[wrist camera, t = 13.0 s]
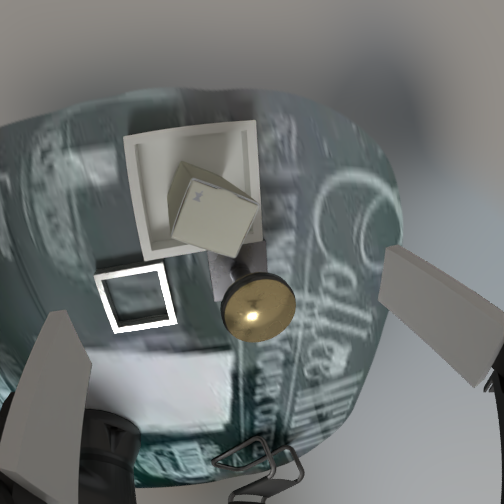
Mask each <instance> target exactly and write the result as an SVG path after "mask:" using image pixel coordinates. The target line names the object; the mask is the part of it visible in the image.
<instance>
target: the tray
mask: <svg viewBox="0 0 504 504" xmlns="http://www.w3.org/2000/svg"><path fill="white" fill-rule="evenodd" d="M123 140H124V149H125V157H126V164H127V172H128V178H129V185H130V191H131V197H132V203H133V208H134V214H135V219H136V224H137V229H138V234H139V239H140V244H141V248H142V253H143V257H144V261H149V260H154V259H160V258H166V257H172V256H177V255H183V254H189V253H195V252H201V251H206V250H205V249H201V248H198V247H195V246H193V245H189V244H186V243H183V242H181V241H178V240H175V239H173V238H171V235H170V227H169V216H168V204H167V195H168V192H169V189H170V186H171V183H172V180H173V178H174V175H175V173H176V170H177V168H178V166H179V163H180V161H184V162H187V163H189V164H192V165H195V166H198V167H200V168H203V169H205V170H208V171H210V172H213V173H215V174H217V175H220V176H221V177H223V178H224V179H226V180H227V181H229V182H230V183H231V184H233V185H234V186H236V187H237V188H239V189H240V190H242V191H243V192H244V193H246V194H247V195H249V196H250V197H252V198H253V199H254V200H255V201H257V202H258V203H259V204H260V208H259V210H258V212H257V214H256V217H255V219H254V221H253V223H252V225H251V228H250V230H249V232H248V234H247V236H246V238H245V240H244V242H243V244H248V243H254V242H260V241H263V233H262V215H261V197H260V180H259V163H258V147H257V131H256V120H249V121H233V122H221V123H210V124H201V125H192V126H184V127H177V128H170V129H163V130H157V131H151V132H145V133H139V134H134V135H129V136H124V137H123Z"/></svg>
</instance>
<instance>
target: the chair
mask: <svg viewBox="0 0 504 504" xmlns="http://www.w3.org/2000/svg"><path fill="white" fill-rule="evenodd" d="M254 441H260V442H261V443H262V445H263V448H264V451H265V453H266V456H264V457H262V458H261V459H259V460H257V461H255V462H253V463H251V464H249V465H247V466H245V467H241V468H234V467H230V466H225V465H221V464H217V463H216V462H218V461H220V460H221V459H223V458H225V457H227V456H229V455H231V454H233V453H235V452H237V451H238V450H240V449H242V448H244V447H246V446H247V445H249V444H251V443H253V442H254ZM285 449H288V450H290V452H291V454H292V456H293V458H294V460H295V462H296V465H297V467H298V469H299V471H300V476H299V478H298V479H296V480H294V481H290V480H284V479H271V478H272V477H273V476H274V475H275V473H276V464H275V462H274V459H273V457H272V456H274V455H276V454H277V453H279V452H281V451H283V450H285ZM267 459H268V461H269V463H270V466H271V471H270V473H269V475H267V476H265V477H263V478H261V479H259V480H257V481H255V482H252V483H250V484H248V485H246V486H244V487H241V488H239V489H237V490H235V491H233V492H232V493H231V494H230V496H229V498H228V504H265V501H266V499H267V498H269V497H271V496H273V495H275V494H277V493H280V492H281V491H284V490H286V489H288V488H290V487H292V486H294V485H296V484H298V483H299V482H300V481H301V480H302V479H303V477H304V469H303V467H302V465H301V463H300V461H299V458H298V456H297V454H296V452H295V450H294V448H293V447H291V446H288V445H285V446H282V447H280V448H278V449H277V450H275V451H273V452H270V449H269V447H268V444H267V442H266V440H265V439H264V438H263V437H261V436H255V437H252V438H251V439H249V440H247V441H246V442H244V443H242V444H240V445H238V446H237V447H235V448H233V449H231V450H229V451H228V452H226V453H224V454H222V455H220V456H218V457H216V458H214V459H213V460H212V462H211V463H212V465H213V466H214V467H218V468H222V469H226V470H231V471H244V470H247V469H249V468H251V467H253V466H255V465H257V464H259V463H261V462H263V461H265V460H267ZM242 494H249V495H259V496H263V498H262V500H261V503H258V502H243V501H233V498H234V497H235V495H242Z"/></svg>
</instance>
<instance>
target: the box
mask: <svg viewBox="0 0 504 504" xmlns="http://www.w3.org/2000/svg"><path fill="white" fill-rule="evenodd" d="M167 204H168V216H169V227H170V235H171V238H173V239H175V240H178V241H181V242H183V243H186V244H189V245H193V246H195V247H198V248H201V249H205V250H208V251H211V252H215V253H218V254H221V255H225V256H229V257H233V258H235V257H236V256H237V254H238V252H239V250H240V248H241V246H242V244H243V242H244V240H245V238H246V236H247V234H248V232H249V230H250V228H251V225H252V223H253V221H254V219H255V217H256V214H257V212H258V210H259V208H260V204H259V203H258V202H257V201H255V200H254V199H253V198H252V197H250V196H249V195H247V194H246V193H244V192H243V191H242V190H240V189H239V188H237V187H236V186H234V185H233V184H231V183H230V182H229V181H227V180H226V179H224V178H223V177H221V176H220V175H217V174H215V173H213V172H210V171H208V170H205V169H203V168H200V167H198V166H195V165H192V164H189V163H187V162H184V161H180V163H179V166H178V168H177V170H176V173H175V175H174V178H173V180H172V183H171V186H170V189H169V192H168V195H167Z"/></svg>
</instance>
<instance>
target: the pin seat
mask: <svg viewBox="0 0 504 504" xmlns="http://www.w3.org/2000/svg"><path fill="white" fill-rule="evenodd" d="M156 270H158V274H159V279H160V283H161V287H162V291H163V295H164V299H165V303H166V307H167V311H168V313H167V314H161V315H155V316H149V317H143V318H137V319H130V320H124V321H119V319H118V317H117V314H116V311H115V308H114V305H113V303H112V300H111V297H110V294H109V291H108V288H107V285H106V281H105V279H110V278H116V277H122V276H127V275H133V274H139V273H145V272H150V271H156ZM94 279H95V282H96V285H97V288H98V291H99V294H100V296H101V299H102V302H103V305H104V308H105V310H106V313H107V316H108V318H109V321H110V323H111V326H112V328H113V331H114V333H120V332H127V331H134V330H141V329H147V328H153V327H159V326H165V325H171V324H177V318H176V313H175V309H174V305H173V301H172V297H171V293H170V289H169V284H168V280H167V275H166V271H165V266H164V261H163V258H160V259H154V260H149V261H141V262H136V263H130V264H125V265H119V266H113V267H108V268H102V269H97V270H96V271H95V273H94Z"/></svg>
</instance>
